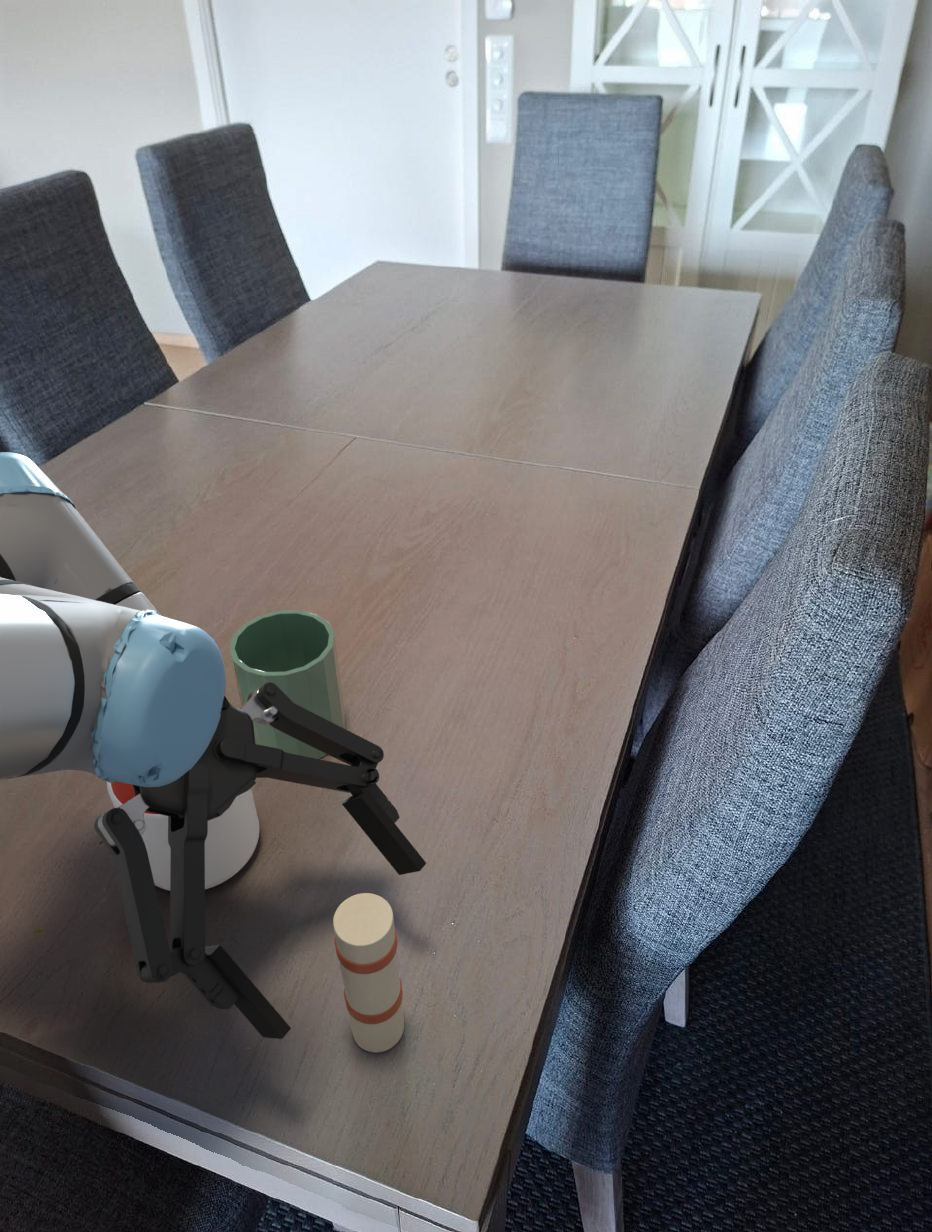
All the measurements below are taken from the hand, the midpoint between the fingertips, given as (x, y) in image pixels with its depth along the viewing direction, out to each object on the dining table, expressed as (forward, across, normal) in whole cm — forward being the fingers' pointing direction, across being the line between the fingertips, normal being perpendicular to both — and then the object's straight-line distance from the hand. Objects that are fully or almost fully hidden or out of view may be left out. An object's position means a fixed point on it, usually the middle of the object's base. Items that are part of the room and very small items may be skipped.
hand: (350, 945), depth 56 cm
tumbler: (-10, -18, -22) cm, 30 cm away
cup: (-8, -4, -20) cm, 22 cm away
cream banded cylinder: (+7, 0, -5) cm, 9 cm away
